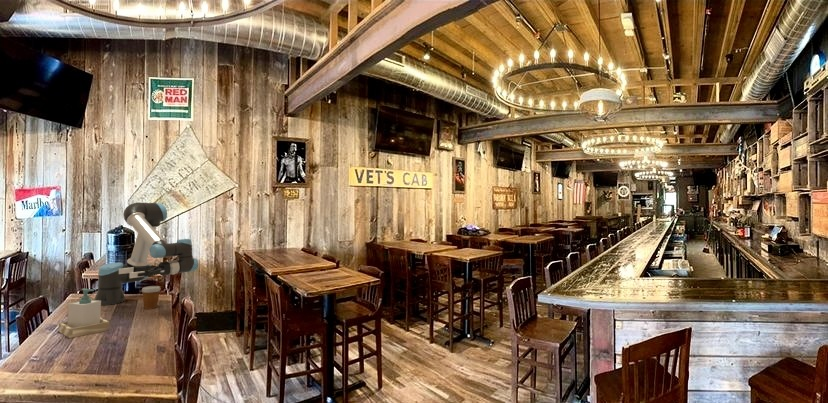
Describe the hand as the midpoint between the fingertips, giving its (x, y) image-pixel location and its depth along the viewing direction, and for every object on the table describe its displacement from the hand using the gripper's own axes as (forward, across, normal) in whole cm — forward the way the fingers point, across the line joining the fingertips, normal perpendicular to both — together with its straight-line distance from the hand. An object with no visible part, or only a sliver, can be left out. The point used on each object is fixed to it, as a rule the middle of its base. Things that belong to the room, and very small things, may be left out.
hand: (124, 273), depth 203 cm
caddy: (+17, -4, -24) cm, 30 cm away
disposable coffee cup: (-20, +18, -26) cm, 38 cm away
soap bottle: (+17, -4, -24) cm, 30 cm away
